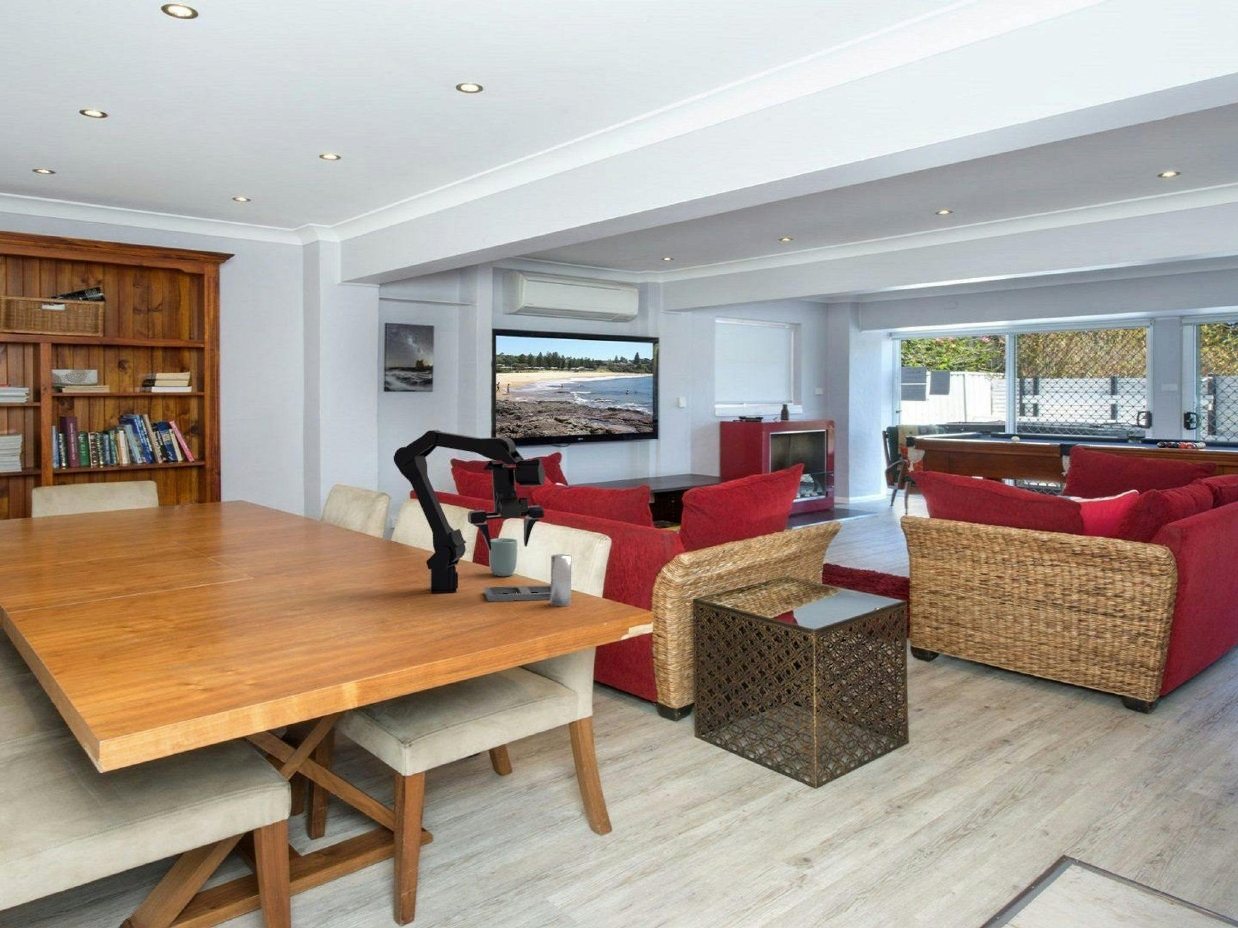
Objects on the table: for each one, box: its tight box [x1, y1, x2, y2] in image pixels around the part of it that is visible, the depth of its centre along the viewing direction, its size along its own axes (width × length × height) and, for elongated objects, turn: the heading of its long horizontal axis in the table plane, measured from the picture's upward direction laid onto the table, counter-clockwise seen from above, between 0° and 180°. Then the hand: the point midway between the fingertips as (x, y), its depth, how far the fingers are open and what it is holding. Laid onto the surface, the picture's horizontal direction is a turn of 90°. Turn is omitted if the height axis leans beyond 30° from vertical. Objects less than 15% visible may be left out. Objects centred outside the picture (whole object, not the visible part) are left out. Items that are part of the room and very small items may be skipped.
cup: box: [488, 537, 518, 577], centre depth 254 cm, size 8×8×10 cm
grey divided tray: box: [483, 584, 551, 603], centre depth 228 cm, size 20×10×2 cm, turn 105°
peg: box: [550, 553, 573, 607], centre depth 219 cm, size 5×5×12 cm
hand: (508, 548), depth 228 cm, fingers open, 9 cm apart
